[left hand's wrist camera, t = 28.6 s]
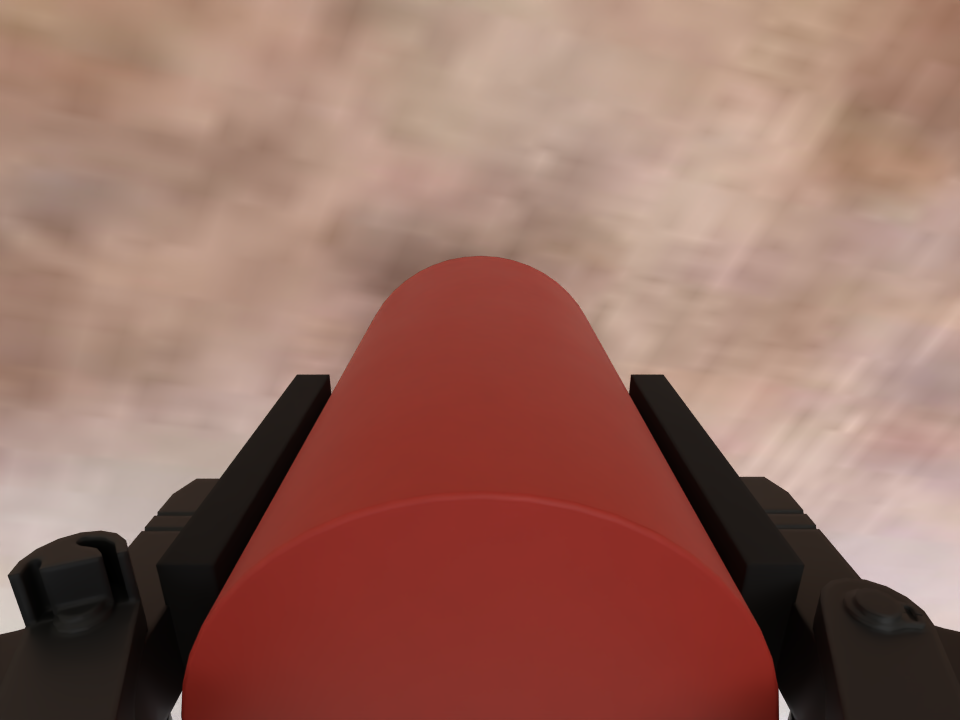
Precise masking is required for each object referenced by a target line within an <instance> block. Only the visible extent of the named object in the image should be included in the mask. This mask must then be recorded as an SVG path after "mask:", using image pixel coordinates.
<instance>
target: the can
mask: <svg viewBox="0 0 960 720" xmlns="http://www.w3.org/2000/svg"><path fill="white" fill-rule="evenodd" d="M181 717H182V720H779V690H778V683H777V678H776V673H775V668H774V663H773V659H772V656H771V654H770V651H769V649H768V646H767V644H766V641H765V639H764V636H763V634H762V631H761V629H760V627H759V626H758V624H757V622H756V620H755V619H754V617H753V615H752V613H751V611H750V610H749V608H748V606H747V604H746V602H745V601H744V599H743V597H742V595H741V594H740V592H739V590H738V588H737V586H736V585H735V583H734V581H733V579H732V577H731V576H730V574H729V572H728V570H727V568H726V567H725V565H724V563H723V561H722V560H721V558H720V556H719V554H718V552H717V551H716V549H715V547H714V545H713V543H712V542H711V540H710V538H709V536H708V535H707V533H706V531H705V529H704V527H703V526H702V524H701V522H700V520H699V518H698V517H697V515H696V513H695V511H694V510H693V508H692V506H691V504H690V502H689V501H688V499H687V497H686V495H685V493H684V492H683V490H682V488H681V486H680V484H679V483H678V481H677V479H676V477H675V476H674V474H673V472H672V470H671V468H670V467H669V465H668V463H667V461H666V459H665V458H664V456H663V454H662V452H661V451H660V449H659V447H658V445H657V443H656V442H655V440H654V438H653V436H652V434H651V433H650V431H649V429H648V427H647V425H646V424H645V422H644V420H643V418H642V417H641V415H640V413H639V411H638V409H637V408H636V406H635V404H634V402H633V400H632V399H631V397H630V395H629V393H628V392H627V390H626V388H625V386H624V384H623V383H622V381H621V379H620V377H619V375H618V374H617V372H616V370H615V368H614V367H613V365H612V363H611V361H610V359H609V358H608V356H607V354H606V352H605V350H604V349H603V347H602V345H601V343H600V341H599V340H598V338H597V336H596V334H595V333H594V331H593V329H592V327H591V325H590V324H589V322H588V320H587V318H586V317H585V315H584V313H583V312H582V310H581V308H580V307H579V305H578V304H577V303H576V301H575V300H574V299H573V298H572V297H571V295H570V294H569V293H568V292H567V291H566V290H565V289H564V288H562V287H561V286H560V285H559V284H558V283H557V282H556V281H554V280H553V279H551V278H550V277H548V276H547V275H545V274H544V273H542V272H540V271H538V270H536V269H534V268H532V267H530V266H528V265H525V264H522V263H519V262H516V261H513V260H509V259H504V258H499V257H487V256H474V257H462V258H457V259H452V260H447V261H444V262H441V263H438V264H435V265H433V266H430V267H428V268H426V269H424V270H422V271H420V272H418V273H417V274H415V275H414V276H412V277H411V278H409V279H408V280H406V281H405V282H404V283H403V284H401V285H400V286H399V287H398V288H397V289H396V290H395V291H394V292H393V293H392V294H391V295H390V296H389V297H388V298H387V300H386V301H385V302H384V303H383V305H382V306H381V308H380V309H379V311H378V312H377V314H376V316H375V317H374V319H373V321H372V323H371V325H370V326H369V328H368V330H367V332H366V333H365V335H364V337H363V339H362V341H361V342H360V344H359V346H358V348H357V350H356V351H355V353H354V355H353V357H352V358H351V360H350V362H349V364H348V366H347V367H346V369H345V371H344V373H343V374H342V376H341V378H340V380H339V382H338V383H337V385H336V387H335V389H334V391H333V392H332V394H331V396H330V398H329V399H328V401H327V403H326V405H325V407H324V408H323V410H322V412H321V414H320V416H319V417H318V419H317V421H316V423H315V424H314V426H313V428H312V430H311V432H310V433H309V435H308V437H307V439H306V441H305V442H304V444H303V446H302V448H301V449H300V451H299V453H298V455H297V457H296V458H295V460H294V462H293V464H292V466H291V467H290V469H289V471H288V473H287V474H286V476H285V478H284V480H283V482H282V483H281V485H280V487H279V489H278V491H277V492H276V494H275V496H274V498H273V499H272V501H271V503H270V505H269V507H268V508H267V510H266V512H265V514H264V516H263V517H262V519H261V521H260V523H259V524H258V526H257V528H256V530H255V532H254V533H253V535H252V537H251V539H250V541H249V542H248V544H247V546H246V548H245V549H244V551H243V553H242V555H241V557H240V558H239V560H238V562H237V564H236V565H235V567H234V569H233V571H232V573H231V574H230V576H229V578H228V580H227V582H226V583H225V585H224V587H223V589H222V590H221V592H220V594H219V596H218V598H217V599H216V601H215V603H214V605H213V607H212V608H211V610H210V612H209V614H208V615H207V617H206V619H205V621H204V623H203V624H202V626H201V629H200V631H199V633H198V635H197V638H196V640H195V642H194V645H193V647H192V649H191V652H190V654H189V658H188V662H187V666H186V671H185V675H184V679H183V685H182V711H181Z"/></svg>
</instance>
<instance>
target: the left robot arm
mask: <svg viewBox="0 0 960 720" xmlns="http://www.w3.org/2000/svg"><path fill="white" fill-rule="evenodd" d="M629 395H630V397H631V399H632V400H633V402H634V404H635V406H636V408H637V409H638V411H639V413H640V415H641V417H642V418H643V420H644V422H645V424H646V425H647V427H648V429H649V431H650V433H651V434H652V436H653V438H654V440H655V442H656V443H657V445H658V447H659V449H660V451H661V452H662V454H663V456H664V458H665V459H666V461H667V463H668V465H669V467H670V468H671V470H672V472H673V474H674V476H675V477H676V479H677V481H678V483H679V484H680V486H681V488H682V490H683V492H684V493H685V495H686V497H687V499H688V501H689V502H690V504H691V506H692V508H693V510H694V511H695V513H696V515H697V517H698V518H699V520H700V522H701V524H702V526H703V527H704V529H705V531H706V533H707V535H708V536H709V538H710V540H711V542H712V543H713V545H714V547H715V549H716V551H717V552H718V554H719V556H720V558H721V560H722V561H723V563H724V565H725V567H726V568H727V570H728V572H729V574H730V576H731V577H732V579H733V581H734V583H735V585H736V586H737V588H738V590H739V592H740V594H741V595H742V597H743V599H744V601H745V602H746V604H747V606H748V608H749V610H750V611H751V613H752V615H753V617H754V619H755V620H756V622H757V624H758V626H759V627H760V629H761V631H762V634H763V636H764V639H765V641H766V644H767V646H768V649H769V651H770V654H771V656H772V659H773V663H774V668H775V673H776V678H777V683H778V688H779V690H780V692H781V694H782V696H783V697H784V699H785V701H786V703H787V705H788V707H789V709H790V713H789V717H788V720H960V632H958V631H953V630H949V629H944V628H941V627H938V626H934V624H933V623H932V622H931V620H930V619H929V617H928V616H927V614H926V613H925V612H924V611H923V610H922V609H921V608H920V607H919V606H917V605H916V604H915V603H914V602H912V601H911V600H910V599H909V598H907V597H906V596H904V595H902V594H900V593H898V592H896V591H894V590H892V589H891V588H889V587H887V586H884V585H880V584H877V583H874V582H871V581H868V580H863V579H861V578H860V577H859V576H858V574H857V573H856V572H855V571H854V570H853V569H852V567H851V566H850V565H849V564H848V563H847V561H846V560H845V559H844V558H843V557H842V556H841V554H840V553H839V552H838V551H837V550H836V548H835V547H834V546H833V545H832V544H831V543H830V541H829V540H828V539H827V538H826V537H825V535H824V534H823V533H822V532H821V531H820V530H819V529H816V525H815V524H814V522H813V521H812V520H811V519H810V518H809V516H808V515H807V514H804V513H803V509H802V508H801V507H800V506H799V505H798V503H797V502H796V501H795V500H794V499H793V498H792V496H791V495H790V494H789V493H788V492H787V491H785V490H784V489H782V488H781V487H779V486H777V485H776V484H774V483H773V482H771V481H770V480H768V479H767V478H765V477H739V476H738V474H737V473H736V472H735V470H734V469H733V468H732V466H731V465H730V464H729V462H728V461H727V460H726V458H725V457H724V456H723V454H722V453H721V452H720V450H719V449H718V448H717V446H716V445H715V444H714V442H713V441H712V439H711V438H710V437H709V435H708V434H707V433H706V431H705V430H704V429H703V427H702V426H701V425H700V423H699V422H698V421H697V419H696V418H695V417H694V415H693V414H692V413H691V411H690V410H689V409H688V407H687V406H686V404H685V403H684V402H683V400H682V399H681V398H680V396H679V395H678V394H677V392H676V391H675V390H674V388H673V387H672V386H671V384H670V383H669V382H668V380H667V379H666V378H665V376H664V375H631V380H630V390H629ZM330 396H331V386H330V376H329V375H296V377H295V378H294V379H293V381H292V382H291V383H290V385H289V386H288V388H287V389H286V390H285V392H284V393H283V394H282V396H281V397H280V398H279V400H278V401H277V402H276V404H275V405H274V406H273V408H272V409H271V410H270V412H269V413H268V414H267V416H266V417H265V418H264V420H263V421H262V423H261V424H260V425H259V427H258V428H257V429H256V431H255V432H254V433H253V435H252V436H251V437H250V439H249V440H248V441H247V443H246V444H245V445H244V447H243V448H242V449H241V451H240V452H239V453H238V455H237V456H236V458H235V459H234V460H233V462H232V463H231V464H230V466H229V467H228V468H227V470H226V471H225V472H224V474H223V475H222V476H221V478H220V479H196V480H194V481H192V482H191V483H189V484H188V485H186V486H185V487H183V488H182V489H180V490H179V491H177V492H175V493H174V494H173V495H172V496H171V497H170V498H169V499H168V501H167V502H166V503H165V504H164V505H163V506H162V508H161V509H160V510H159V511H158V515H157V516H154V517H153V518H152V520H151V521H150V522H149V523H148V524H147V526H146V527H145V531H141V533H140V534H139V535H138V536H137V537H136V539H135V540H134V541H133V542H132V543H131V545H130V546H129V547H127V543H126V540H125V539H124V538H122V537H121V536H120V535H118V534H117V533H112V532H106V531H92V532H82V533H78V534H74V535H71V536H67V537H63V538H60V539H57V540H55V541H53V542H51V543H49V544H47V545H44V546H42V547H40V548H38V549H36V550H35V551H33V552H32V553H31V554H29V555H28V556H26V557H25V558H23V559H22V560H21V561H19V562H18V564H17V565H16V566H15V567H14V568H13V570H12V571H11V572H10V573H9V575H8V578H9V580H10V583H11V586H12V589H13V592H14V595H15V597H16V600H17V603H18V606H19V609H20V611H21V614H22V617H23V620H24V623H25V626H26V627H25V629H21V630H18V631H14V632H9V633H5V634H1V635H0V720H172V717H171V711H172V709H173V707H174V705H175V703H176V701H177V699H178V698H179V696H180V694H181V692H182V685H183V679H184V675H185V671H186V666H187V662H188V658H189V654H190V652H191V649H192V647H193V645H194V642H195V640H196V638H197V635H198V633H199V631H200V629H201V626H202V624H203V623H204V621H205V619H206V617H207V615H208V614H209V612H210V610H211V608H212V607H213V605H214V603H215V601H216V599H217V598H218V596H219V594H220V592H221V590H222V589H223V587H224V585H225V583H226V582H227V580H228V578H229V576H230V574H231V573H232V571H233V569H234V567H235V565H236V564H237V562H238V560H239V558H240V557H241V555H242V553H243V551H244V549H245V548H246V546H247V544H248V542H249V541H250V539H251V537H252V535H253V533H254V532H255V530H256V528H257V526H258V524H259V523H260V521H261V519H262V517H263V516H264V514H265V512H266V510H267V508H268V507H269V505H270V503H271V501H272V499H273V498H274V496H275V494H276V492H277V491H278V489H279V487H280V485H281V483H282V482H283V480H284V478H285V476H286V474H287V473H288V471H289V469H290V467H291V466H292V464H293V462H294V460H295V458H296V457H297V455H298V453H299V451H300V449H301V448H302V446H303V444H304V442H305V441H306V439H307V437H308V435H309V433H310V432H311V430H312V428H313V426H314V424H315V423H316V421H317V419H318V417H319V416H320V414H321V412H322V410H323V408H324V407H325V405H326V403H327V401H328V399H329V398H330Z"/></svg>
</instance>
